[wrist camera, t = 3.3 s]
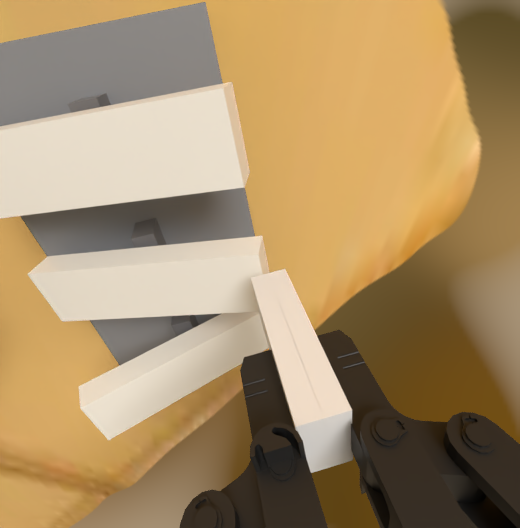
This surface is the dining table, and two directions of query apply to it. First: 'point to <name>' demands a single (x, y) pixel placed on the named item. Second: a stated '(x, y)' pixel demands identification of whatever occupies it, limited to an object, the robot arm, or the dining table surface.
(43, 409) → the dining table surface
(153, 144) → the bar
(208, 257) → the bar
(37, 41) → the switch panel
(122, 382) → the bar
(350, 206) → the dining table surface
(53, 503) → the dining table surface
